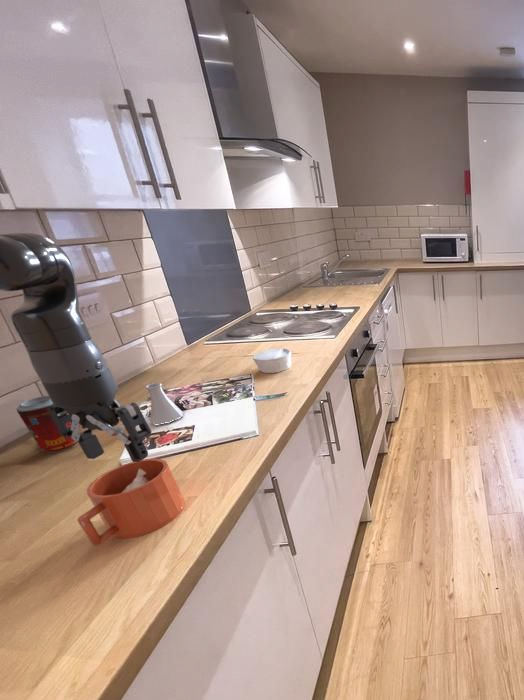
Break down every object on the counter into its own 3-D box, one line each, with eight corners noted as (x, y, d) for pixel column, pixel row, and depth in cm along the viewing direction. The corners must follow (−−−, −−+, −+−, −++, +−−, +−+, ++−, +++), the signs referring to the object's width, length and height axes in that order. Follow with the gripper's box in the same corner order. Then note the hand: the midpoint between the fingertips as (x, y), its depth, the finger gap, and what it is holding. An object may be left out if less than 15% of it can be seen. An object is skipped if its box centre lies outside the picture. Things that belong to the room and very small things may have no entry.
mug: (149, 494, 81) (130, 457, 77) (199, 498, 80) (182, 460, 76) (70, 552, 68) (43, 510, 64) (128, 557, 67) (104, 515, 63)
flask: (153, 429, 103) (137, 394, 99) (148, 419, 108) (132, 385, 104) (187, 418, 108) (173, 384, 104) (181, 409, 113) (167, 376, 108)
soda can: (41, 447, 97) (13, 401, 91) (82, 435, 102) (58, 390, 96) (43, 458, 92) (14, 411, 87) (85, 445, 97) (61, 399, 92)
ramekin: (299, 367, 139) (295, 353, 137) (263, 377, 132) (259, 362, 129) (287, 359, 146) (283, 345, 144) (252, 368, 139) (248, 354, 136)
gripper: (4, 379, 60) (58, 468, 67) (89, 383, 59) (135, 474, 66) (61, 360, 67) (104, 443, 74) (138, 363, 66) (175, 447, 72)
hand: (118, 457), depth 70 cm, fingers open, 8 cm apart
